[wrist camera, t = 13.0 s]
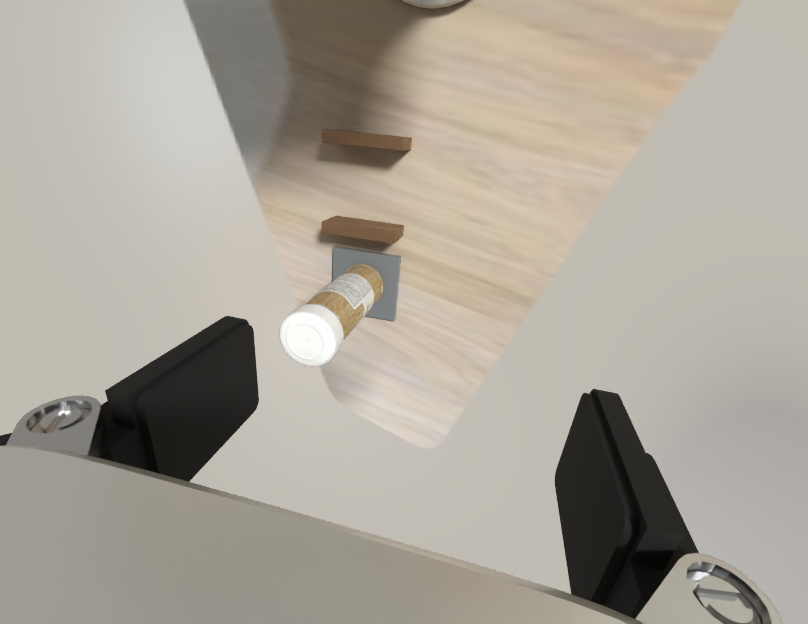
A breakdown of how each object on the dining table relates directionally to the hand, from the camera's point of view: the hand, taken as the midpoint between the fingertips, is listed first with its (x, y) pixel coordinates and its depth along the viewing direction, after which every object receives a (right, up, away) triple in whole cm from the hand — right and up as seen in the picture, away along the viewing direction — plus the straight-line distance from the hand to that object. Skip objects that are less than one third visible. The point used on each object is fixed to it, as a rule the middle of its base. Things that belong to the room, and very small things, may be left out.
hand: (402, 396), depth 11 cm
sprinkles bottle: (-4, +5, +30) cm, 31 cm away
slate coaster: (-4, +5, +30) cm, 31 cm away
